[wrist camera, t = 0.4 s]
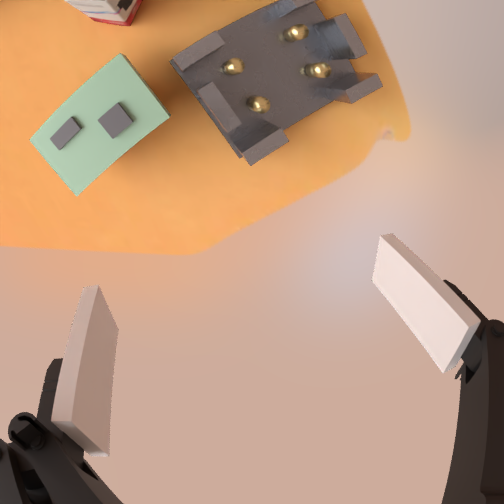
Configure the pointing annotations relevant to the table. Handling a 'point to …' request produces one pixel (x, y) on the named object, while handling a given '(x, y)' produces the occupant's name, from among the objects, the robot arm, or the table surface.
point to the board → (99, 123)
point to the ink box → (108, 10)
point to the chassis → (273, 72)
